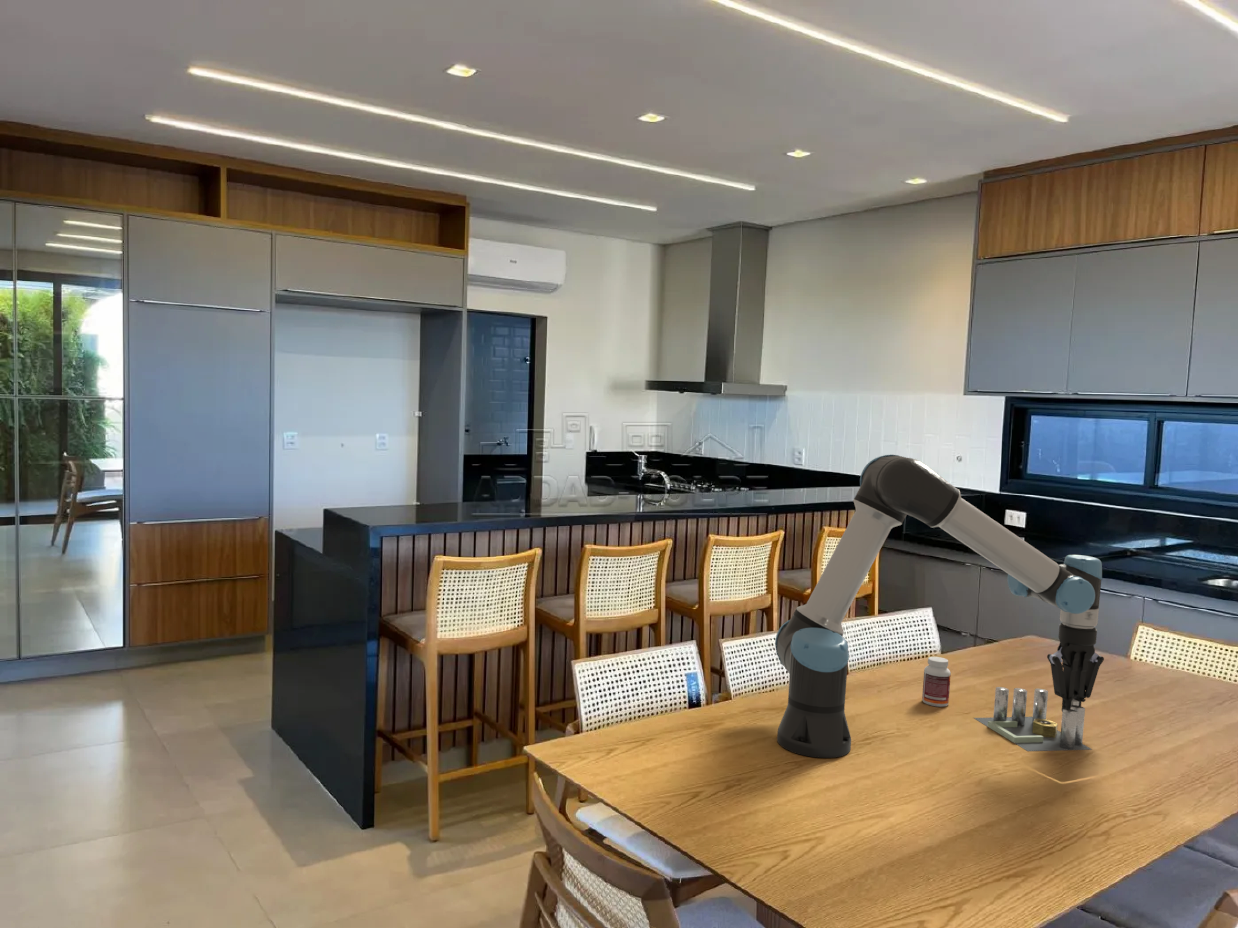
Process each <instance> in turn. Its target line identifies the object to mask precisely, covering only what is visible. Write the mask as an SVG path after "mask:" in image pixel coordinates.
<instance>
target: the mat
mask: <svg viewBox="0 0 1238 928" xmlns="http://www.w3.org/2000/svg"><path fill="white" fill-rule="evenodd" d="M993 717H994V716H991V717H973V719H974V720H975V721H978V723H980V724H982V725H984V726H985V727H987V726H988V721H993ZM1032 717H1033V716H1025V725H1024V726H1017V727H1003V728H1004V729H1006V730H1007V731H1009V732H1011V733H1012V734H1014V735H1016V736H1037V734H1035V733H1032V732H1033V724H1032ZM1011 720H1012V716H1007V721H1011ZM989 729H991V728H989ZM991 730H992V729H991ZM994 732H996V731H994ZM996 733H997V732H996ZM997 734H999V733H997ZM999 735H1000V736H1002V735H1001V734H999ZM1060 736H1061V730H1058V729H1057V735H1056V737H1055V738H1053V737H1043V742H1029V743H1014V742H1012V743H1014V744H1015V745H1016V746H1018V747H1020V748H1022V749H1023V750H1025V751H1026V752H1050V751H1053V752H1055V751H1056V752H1057V751H1069V750H1068V749H1064V748H1061V747H1060ZM1002 737H1004V736H1002ZM1004 738H1005V737H1004ZM1007 740H1008V741H1010V740H1009V739H1007ZM1085 750H1086V751H1089V750H1093V749H1092V748H1091V747H1088V746H1087V745H1085V744H1083V743H1082V745H1081V746H1076V745H1074V749H1073V750H1072V751H1085Z"/></svg>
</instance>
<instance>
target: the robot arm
mask: <svg viewBox="0 0 1238 928" xmlns="http://www.w3.org/2000/svg"><path fill="white" fill-rule="evenodd" d="M859 477H860V478H859V488H858V491H857V493H856V494H855V496H854V498H853V500H852V501H853V503H854V504H853V505H854V507H855V512H854V513H853V514H852V517H851V518H850V521H849V522H848V524H847V526H846V528H845V530H844V531H843V534H842V535H841V538H840V539H839V541H838V544H837V545H836V548H835V549H834V551H833V553H832V555H831V557H830V558H829V560H828V562H827V565H826V566H825V568H824V570H823V572H822V574H821V576H820V577H819V579H818V582H817V583H816V584H815V587H814V589H813V591H812V592H811V594H810V596H809V599H808V600H807V602H806V603H805V604H801V605H800V606H797V607H796V608H795V610H794V612H793V614H792V616H791V618H790V619H789V620H787V621H786V622H784V623H783V624H782V625H781V626H780V627H779V628H778V631H777V633H776V636H775V640H774V641H775V643H774V647H775V652H776V655H777V658H778V661H779V662H780V664H781V665H782V666H783V667H784V668H785V669H786V671H787V672H788V674H789V675H788V676H789V678H788V679H789V681H788V697H787V706H786V709H785V711H784V714H783V716H782V718H781V721H780V723H779V726H778V728H777V739H776V741H777V743H778V745H779V746H781V747H782V748H784V749H785V750H787V751H789V752H791V753H793V754H798V755H801V756H807V757H811V758H820V759H824V758H825V759H831V758H839V757H844V756H845V755H847V754H850V752H851V749H852V748H851V746H852V737H851V732H850V730H849V729H850V728H849V725H848V721H847V717H846V713H845V704H846V692H847V691H846V690H847V681H848V680H847V679H848V677H847V676H848V666H849V665H848V662H849V658H850V653H849V644H848V642H847V640H846V638H845V637H843V636H844V634H845V631H844V629H843V626H842V623H843V621H844V618H845V616H846V614H847V613H848V611H849V609H850V607H851V605H852V603H853V602H854V600H855V598H856V596H857V594H858V592H859V590H860V588H861V587H862V584H863V583H864V581H865V579H866V577H867V575H868V574H869V571H870V569H871V568H872V565H873V564H874V562H875V561H876V559H877V557H878V555H879V553H880V550H881V548H882V547H883V545H884V544H885V541H886V539H887V538H888V536H889V534H890V532H891V530H892V529H893V528H895V527H898V526H899V527H900V526H901V525H903V524H904V523H903V522H904V521H905V519H906V517H907V515H908V516H910V517H913V518H914V519H917V520H918V521H920V522H922V523H924V524H925V525H927V526H928V527H930V528H933V529H934V528H940V529H941V530H943V531H944V532H946V533H947V534H948V535H950V536H951V537H953V538H955V539H956V540H957V541H959V542H960V543H962V544H963V545H965V546H966V547H968V548H970V549H971V550H972V551H973V552H975V553H977V554H978V555H980V557H982V558H984V559H986V560H987V561H988V562H990V563H992V564H993V565H994V566H996V567H997V568H999V569H1001V570H1002V571H1003V572H1005V573H1006V574H1007V580H1006V581H1007V586H1008V588H1009V591H1010V592H1011V594H1012V595H1014V596H1017V597H1024V598H1027V597H1031V598H1036V599H1038V600H1041V601H1043V602H1044V603H1047V604H1049V605H1051V606H1053V607H1056V608H1058V609H1059V610H1060V613H1059V614H1060V615H1059V621H1060V623H1059V625H1058V626H1059V628H1058V639H1059V645H1058V647H1057V651H1056V652H1054V653H1053V654H1052V653H1048V654H1047V656H1046V657H1047V660H1048V662H1049V663H1050V671H1051V675H1052V676H1051V677H1052V684H1053V692H1054V695H1056V696H1057V697H1060V698H1061V701H1062V702H1061V712H1062V711H1063V709H1070V708H1071V706H1072V705H1077V706H1081V707H1082V703H1084V702H1086V700H1087V699H1090V698H1091V695H1092V692H1093V689H1094V685H1095V683H1096V680H1097V676H1098V672H1099V669H1100V667H1101V666H1102V663H1103V662H1104V660H1105V657H1103V656H1102V655H1099V654H1098V653H1096V649H1095V645H1096V643H1097V638H1098V637H1097V634H1098V629H1097V628H1096V626H1097V625H1098V623H1099V611H1100V610H1099V609H1100V599H1101V598H1100V597H1101V590H1102V589H1101V587H1102V581H1103V567H1102V566H1103V563H1102V561H1101V560H1100V559H1099V558H1097V557H1093V556H1090V555H1081V554H1068V555H1066V556H1065V557H1064V560H1063V563H1057V562H1056V561H1054V560H1053V559H1051V557H1048V556H1047V555H1046V554H1044V553H1043V552H1041V551H1040V550H1039V549H1037V548H1035V546H1033V545H1031V544H1029V543H1028V542H1027V541H1025V540H1024V539H1022V538H1021V537H1019V536H1018V535H1017V534H1015V533H1014V532H1012V531H1011V530H1009V529H1008V528H1006V527H1005V526H1003V525H1002V524H1000V523H999V522H998V521H996V520H994V519H993V518H991V517H990V516H989V515H988V514H986V513H984V512H983V511H982V510H980V509H979V508H977V506H974V505H973V504H971V503H970V502H969V501H966V499H964V498H962V496H961V491H960V489H958V488H956V486H954V485H953V484H951V483H949V482H948V481H947V480H946V479H945V478H943V477H942V476H941V475H939V474H938V473H937V472H936V471H935V470H933V469H932V468H931V467H929V466H928V465H927V464H925V463H924V462H922V461H920V460H918V459H916V458H911V457H905V456H901V455H898V454H883V455H880V456H877V457H875V458H873V459H871V460H870V461H869V462H868V463H867V464H866V465H865V466H864V468H863V469H862V471H861V474H860V476H859ZM1086 698H1087V699H1086Z"/></svg>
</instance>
